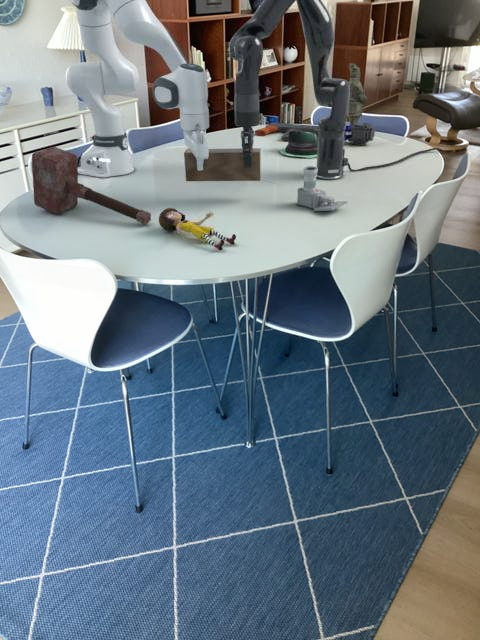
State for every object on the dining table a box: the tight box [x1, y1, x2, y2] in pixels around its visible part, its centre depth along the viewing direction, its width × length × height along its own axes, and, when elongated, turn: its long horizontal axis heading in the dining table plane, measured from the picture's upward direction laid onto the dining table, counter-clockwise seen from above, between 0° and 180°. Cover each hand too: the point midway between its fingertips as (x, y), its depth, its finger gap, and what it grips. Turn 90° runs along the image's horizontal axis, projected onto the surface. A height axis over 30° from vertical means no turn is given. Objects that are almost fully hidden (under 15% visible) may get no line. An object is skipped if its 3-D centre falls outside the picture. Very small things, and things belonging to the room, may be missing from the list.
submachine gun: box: [254, 122, 319, 141], centre depth 263 cm, size 32×3×25 cm
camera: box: [296, 165, 349, 212], centre depth 171 cm, size 9×12×15 cm
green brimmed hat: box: [279, 128, 318, 159], centre depth 234 cm, size 15×19×20 cm
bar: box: [183, 147, 262, 182], centre depth 177 cm, size 24×5×9 cm, turn 86°
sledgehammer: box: [31, 146, 152, 226], centre depth 169 cm, size 17×10×40 cm
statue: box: [346, 62, 368, 127], centre depth 262 cm, size 11×9×30 cm
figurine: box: [158, 207, 237, 251], centre depth 153 cm, size 13×8×25 cm
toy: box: [344, 122, 376, 146], centre depth 244 cm, size 9×9×15 cm
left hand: (197, 166), depth 178 cm, fingers closed on bar, 6 cm apart
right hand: (248, 164), depth 176 cm, fingers closed on bar, 5 cm apart
